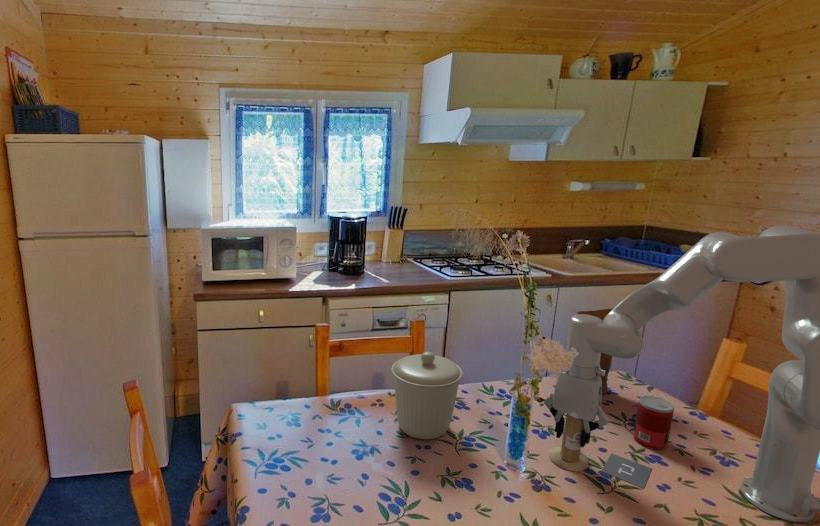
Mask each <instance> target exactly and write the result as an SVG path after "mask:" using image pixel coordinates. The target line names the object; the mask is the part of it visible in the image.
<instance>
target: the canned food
mask: <svg viewBox="0 0 820 526" xmlns="http://www.w3.org/2000/svg"><path fill="white" fill-rule="evenodd" d="M636 410H637V411H636V415H635V423H634V429H633V439H634V440H635V441H636V442H637V444H639V445H641V446H642V447H645V448H647V449H652V450H656V451H657V450H664V449H666V448H667V446H668V443H669V438H670V433H671V428H672V423H673V418H674V411H675V406H674V405H673V403H671V402H670V401H669V400H667V399H664V398H662V397H659V396H654V395H643V396H640V397H639V399H638V404H637V409H636Z"/></svg>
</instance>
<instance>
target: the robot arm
mask: <svg viewBox="0 0 820 526" xmlns="http://www.w3.org/2000/svg"><path fill="white" fill-rule="evenodd" d="M723 280H724V281H728V282H734V283H737V282H738V283H756V282H757V283H759V282H778V281H779V282H780V281H782V282H783V281H784V286H785V303H784V312H783V322H782V327H781V328H782V329H781V339H782V340H781V341H782V344H783V345H784V347H785V348H786V350H788V351H789V352H790V353H791V354H792V355H793V356H794V357H796V358H798V359H790V360H787V361H784V362H781V363H779V364H778V365H777V366H776V367H775V368H774V369H773V370H772V372H771V374H770V377H769V381H768V401H767V412H766V415H765V421H764V426H763V429H762V432H761V433H762V434H761V438H760V441H759V447H758V451H757V456H756V460H755V463H754V464H755V465H754V469H753V473H752V477H750V478H745V479H743V481H742V482H741V484H740V485H741V486H740V489H741V492H742V494H743V496H744V498H746V499H747V501H749V503H751V504H752V505H753V506H755V507H757V508H758V509H760V510H762V511H763V512H765V513H767V514H769V515H771V516H774V517H776V518H778V519H782V520H786V521H787V522H794V523H808V522H811V521H813V519H814V518H815V515H816V512H820V497H818V496H816V495H814V493H812V491H811V490H812V489H811V488H812V485H813V480H814V477H815V474H816V469H817V466H818V462H819V457H820V232H816V231H811V230H808V229H803V228H800V227H796V226H791V225H774V226H770V227H768V228H767V229H765V230H763V231H762V232H761V233H760V235H759V236H740V235H736V234H734V233H731V232H725V231H715V232H711V233H708V234H706V235H705V236H703V237H702V238H701V239H700V240H698V242H696V243H695V244H694V245H693V246H692V247H690V249H689V250H687V251H686V252H685V253H683V255H682V256H680V257H679V259H677V260H676V261H675V262H674V263H673V264H672V265H670V266H669V267H668V268H667V269H665V271H663V272H662V274H660V275H659V276H658V277H656V278H655V279H653V280H652V281H650V282H648V283H646V284H645V285H643V286H642V287H640V288H638V289H636V290H635V291H633V292H632V293H631V294H629V295H628V296H626V297H625V298H624V299H623V300H622V301H620V302H619V303H618V304H617V305H616V306H614V308H612V309H613V310H612V311H611V312H610V313H608V315H607V316H606V317H605V318H604V320H603V321H602V320H601V319H600V318H598V317H595V316H592V315H586V314H578V315H577V314H573V315H572V316H571V317H570V318H569V322H568V328H567V336H566V341H567V343H565V349H566V351H570V350H571V348H572V347H574V348H575V349H576V350H577V352H579V355H578V356H577V357H576V358H575V359H574V361H573V364H572V367H571V368H570V370H568V371H565V372H561V373H558V375H557V378H556V382H555V386H554V391H553V394H551V395H550V396H548V398H546V399H545V400H544V401H543V405H545V407H546V408H547V409H549V412H550V413H551V415H552V417H553V419H554V421H555V428H554V432H555V433H556V436H555V438H557V439H560V438H561V437H562V436H563V432H564V426H565V422H566V418H565V416H564V415H565V414H566V415H567V414H571V413H573V412H574V413H576V414H577V416H578V418H581V419H583V423H584V430H583V431H582V435H581V443H580V446H581V448H584V447H585V446H586V444H587V445H588V444H589V443H590V440H591V433H592V431H594V430H596V429H599V428H602V427H604V426H607V425H608V424H609V419H608V417H607V415H606V414H605V412H604V410H603V409H602V399H603V398H602V397H603V395H602V380H601V377H600V376H604V375H605V370H602V369H601V368H600V364H599V363H600V356H601V353H604V354H607V355H611V356H612V357H613V358H617V359H621V360H622V359H625V360H627V359H633V358H636V357H638V356H639V355H640V354H641V353H642V351H643V349H644V346H645V345H644V344H645V343H644V338H643V336H642V334H641V332H640V329H641V328H643V327H644V326H645V325H646V324H648V323H649V322H650V321H652V320H653V319H654V318H655V317H658V316H660V315H663V314H664V313H666V312H673V311H683V310H685V309H688V308H691V307H692V306H694V305H695V304H696V303H697V302H699V300H701V299H702V298H703V297H704V296H705V295H707V294H708V292H710V291H711V290H712V289H713V288H715V287H716V286H717V285H718V284H720V283H721V282H722V281H723ZM574 348H573V349H574ZM597 417H598V420H596V418H597Z"/></svg>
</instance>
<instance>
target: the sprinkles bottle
mask: <svg viewBox="0 0 820 526" xmlns="http://www.w3.org/2000/svg"><path fill="white" fill-rule="evenodd" d="M565 416H566V417H565V423H564V431H563V434H562V439H561V446H562V447H561V452H560V456H561V458H563V459H564V460H565V461H568V462H573V463H574V462H578V461H579V459H580V457H579V456H580V452H581V449H582V447H581V446H580V443H581V435H582V431H583V430H584V423H583V419H581V418H578V416H577V414H576V413H574V412H573V413H571V414H566V415H565Z"/></svg>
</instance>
